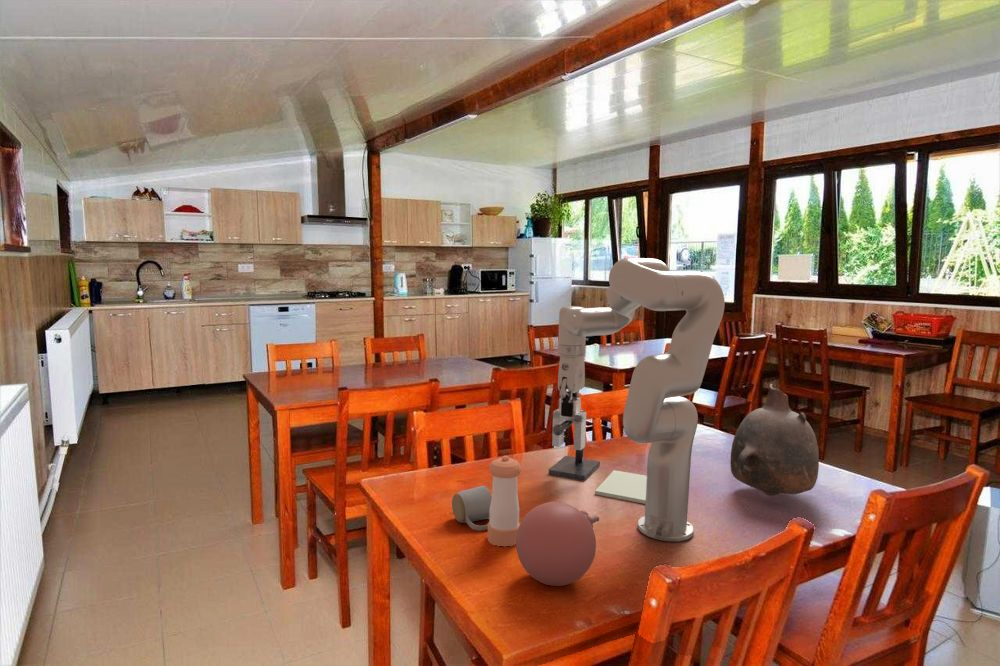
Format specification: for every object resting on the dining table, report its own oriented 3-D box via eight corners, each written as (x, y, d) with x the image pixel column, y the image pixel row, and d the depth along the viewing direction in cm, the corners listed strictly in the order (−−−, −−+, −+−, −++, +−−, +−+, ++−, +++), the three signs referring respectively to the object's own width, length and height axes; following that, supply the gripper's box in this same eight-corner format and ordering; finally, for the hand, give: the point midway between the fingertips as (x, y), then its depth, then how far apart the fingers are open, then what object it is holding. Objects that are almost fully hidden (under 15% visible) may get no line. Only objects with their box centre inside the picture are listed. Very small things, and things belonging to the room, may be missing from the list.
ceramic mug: (449, 516, 148) (450, 486, 147) (480, 510, 152) (480, 480, 151) (468, 535, 139) (469, 503, 138) (500, 528, 143) (501, 496, 142)
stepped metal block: (580, 450, 172) (582, 401, 170) (552, 445, 175) (553, 397, 174) (585, 446, 175) (586, 398, 173) (557, 442, 179) (558, 395, 177)
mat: (663, 507, 156) (663, 503, 156) (595, 494, 164) (595, 490, 163) (676, 484, 172) (676, 480, 172) (613, 473, 180) (613, 470, 180)
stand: (573, 492, 165) (575, 428, 162) (535, 485, 169) (537, 423, 167) (599, 466, 186) (601, 409, 183) (565, 460, 190) (567, 405, 188)
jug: (810, 521, 149) (820, 400, 145) (718, 501, 160) (726, 388, 157) (820, 490, 169) (829, 383, 166) (738, 474, 181) (745, 373, 177)
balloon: (627, 578, 121) (630, 503, 119) (551, 612, 109) (554, 529, 107) (573, 547, 133) (575, 479, 131) (499, 575, 121) (500, 501, 119)
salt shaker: (498, 529, 142) (499, 449, 139) (526, 537, 138) (528, 454, 136) (481, 541, 136) (482, 457, 133) (509, 550, 132) (511, 464, 129)
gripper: (574, 355, 163) (572, 423, 165) (593, 347, 178) (591, 409, 180) (548, 353, 166) (546, 419, 168) (569, 345, 181) (567, 406, 183)
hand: (569, 413), depth 174 cm, fingers closed on stepped metal block, 4 cm apart
